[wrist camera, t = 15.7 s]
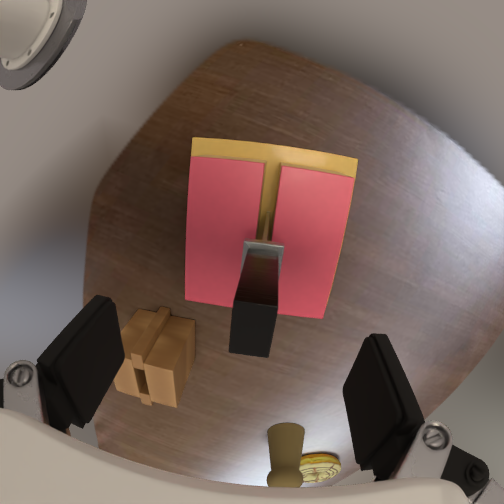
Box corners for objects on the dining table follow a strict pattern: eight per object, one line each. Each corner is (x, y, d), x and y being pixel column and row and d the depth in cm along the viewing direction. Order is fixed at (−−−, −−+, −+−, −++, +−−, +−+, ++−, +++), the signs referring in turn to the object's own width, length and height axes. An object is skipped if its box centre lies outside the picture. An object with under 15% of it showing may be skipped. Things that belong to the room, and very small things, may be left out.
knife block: (144, 351, 34) (118, 395, 26) (137, 301, 31) (103, 344, 23) (195, 362, 33) (177, 413, 26) (195, 312, 31) (172, 363, 23)
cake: (186, 284, 29) (169, 311, 24) (193, 137, 24) (173, 135, 19) (326, 303, 29) (334, 334, 24) (357, 159, 23) (376, 162, 18)
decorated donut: (289, 473, 45) (289, 487, 41) (284, 453, 41) (283, 470, 38) (338, 467, 43) (339, 482, 40) (340, 447, 40) (342, 463, 36)
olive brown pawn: (300, 420, 36) (302, 480, 26) (307, 437, 38) (309, 492, 28) (262, 425, 38) (257, 484, 27) (272, 442, 40) (269, 496, 29)
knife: (251, 243, 27) (221, 358, 12) (255, 206, 25) (226, 290, 11) (276, 247, 27) (273, 365, 12) (282, 210, 25) (288, 299, 11)
